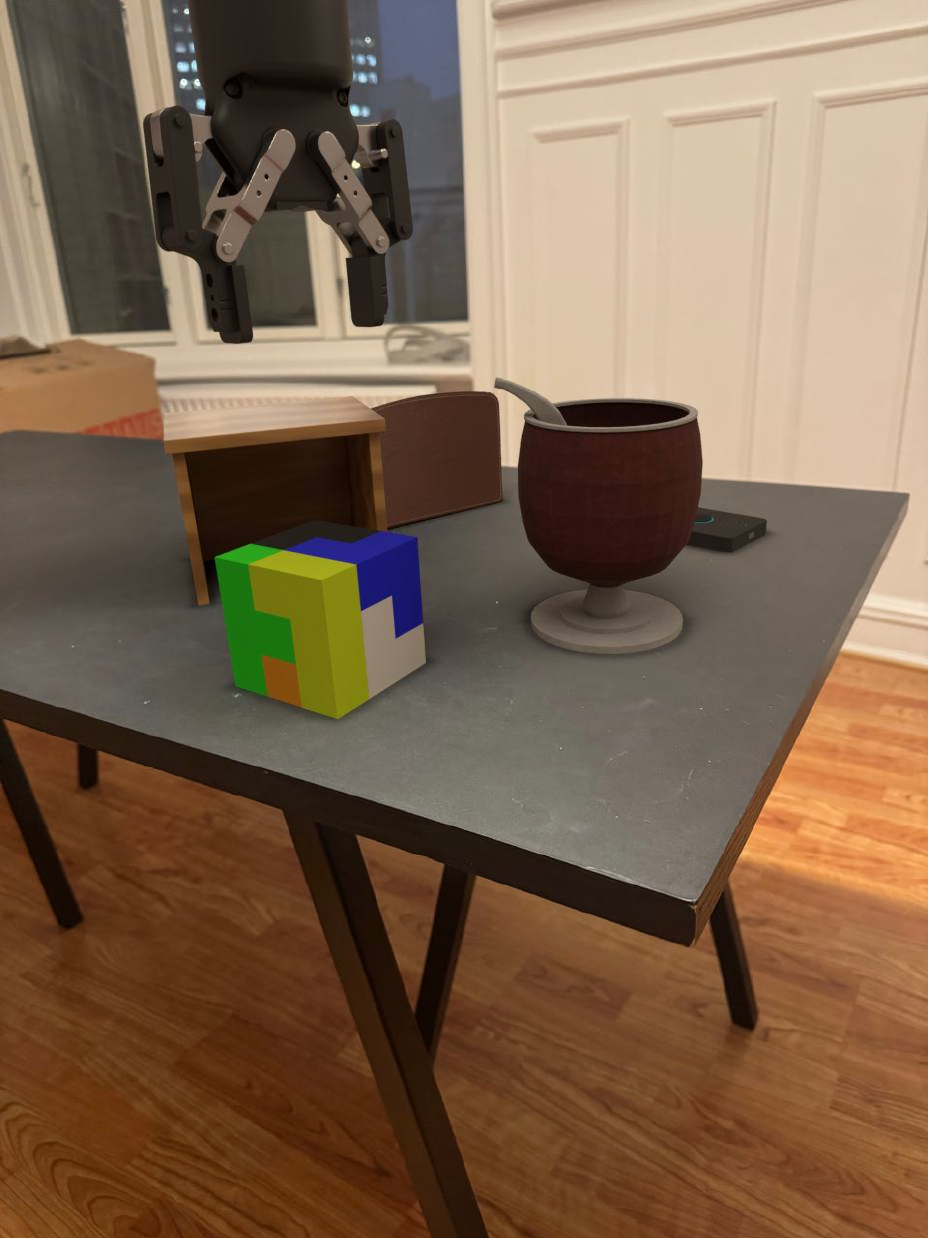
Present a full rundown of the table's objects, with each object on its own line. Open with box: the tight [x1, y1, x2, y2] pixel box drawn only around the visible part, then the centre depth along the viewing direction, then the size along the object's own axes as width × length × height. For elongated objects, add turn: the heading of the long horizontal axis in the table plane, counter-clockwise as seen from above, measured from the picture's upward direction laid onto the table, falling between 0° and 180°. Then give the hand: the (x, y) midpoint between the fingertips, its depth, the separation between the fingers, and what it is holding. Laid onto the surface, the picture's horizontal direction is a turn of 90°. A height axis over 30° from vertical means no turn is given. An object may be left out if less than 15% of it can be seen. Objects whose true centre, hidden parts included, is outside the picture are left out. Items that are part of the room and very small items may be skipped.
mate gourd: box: [493, 376, 704, 655], centre depth 69 cm, size 16×14×20 cm
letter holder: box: [369, 390, 504, 530], centre depth 104 cm, size 10×20×14 cm, turn 126°
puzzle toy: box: [214, 520, 427, 720], centre depth 64 cm, size 10×10×10 cm
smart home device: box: [686, 506, 768, 554], centre depth 96 cm, size 8×2×20 cm
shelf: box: [162, 395, 388, 606], centre depth 86 cm, size 15×19×15 cm
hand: (306, 334), depth 48 cm, fingers open, 8 cm apart
